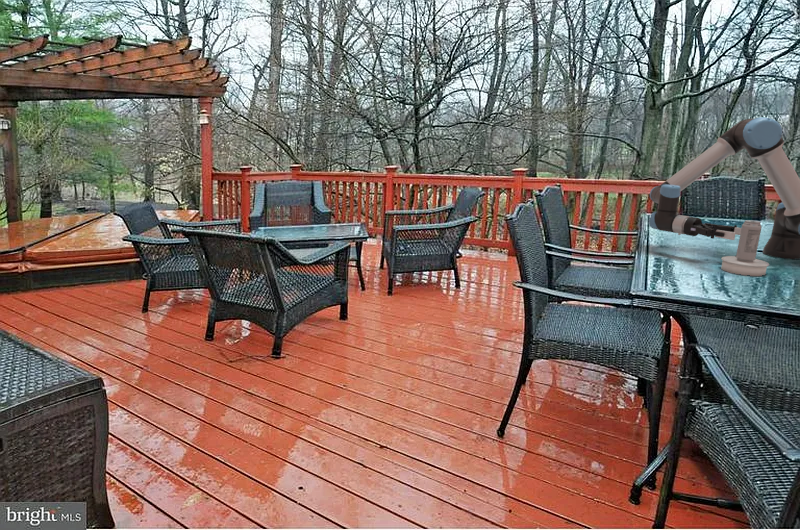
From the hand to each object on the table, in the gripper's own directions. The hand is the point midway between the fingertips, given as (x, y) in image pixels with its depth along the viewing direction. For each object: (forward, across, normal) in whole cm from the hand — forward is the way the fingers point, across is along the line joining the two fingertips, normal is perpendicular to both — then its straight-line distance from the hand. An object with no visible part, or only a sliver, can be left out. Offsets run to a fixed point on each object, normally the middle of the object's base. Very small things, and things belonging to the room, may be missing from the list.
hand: (744, 234), depth 189 cm
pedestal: (+2, 0, -14) cm, 14 cm away
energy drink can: (+2, -1, -10) cm, 10 cm away
